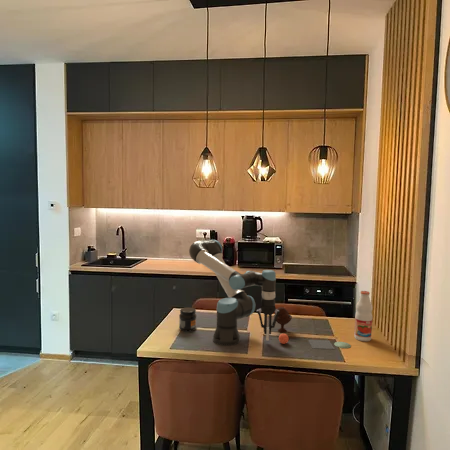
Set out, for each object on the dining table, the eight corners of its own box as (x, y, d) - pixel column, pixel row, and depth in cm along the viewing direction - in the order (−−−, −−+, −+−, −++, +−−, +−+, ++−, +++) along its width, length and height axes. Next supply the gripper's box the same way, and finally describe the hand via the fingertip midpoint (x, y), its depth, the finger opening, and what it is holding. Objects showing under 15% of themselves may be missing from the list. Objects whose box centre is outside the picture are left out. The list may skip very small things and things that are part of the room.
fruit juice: (366, 335, 227) (369, 289, 225) (374, 341, 218) (376, 293, 215) (351, 335, 226) (353, 289, 224) (358, 341, 217) (360, 293, 215)
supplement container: (199, 328, 233) (200, 309, 232) (188, 333, 224) (188, 313, 223) (187, 324, 239) (187, 306, 238) (175, 329, 230) (175, 310, 229)
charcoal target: (312, 348, 205) (312, 348, 205) (308, 340, 217) (308, 339, 217) (334, 349, 205) (334, 348, 205) (329, 340, 217) (329, 340, 217)
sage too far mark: (336, 348, 207) (336, 347, 207) (332, 341, 216) (332, 341, 216) (353, 348, 207) (353, 348, 207) (348, 342, 216) (348, 341, 216)
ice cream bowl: (291, 334, 225) (292, 310, 224) (272, 333, 227) (273, 308, 226) (291, 328, 236) (292, 305, 234) (273, 327, 238) (274, 303, 237)
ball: (279, 345, 209) (279, 335, 208) (277, 341, 214) (278, 332, 214) (289, 345, 209) (289, 335, 208) (287, 341, 214) (287, 332, 214)
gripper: (257, 299, 206) (256, 341, 208) (281, 300, 206) (279, 342, 208) (256, 296, 214) (255, 336, 215) (279, 296, 213) (278, 337, 215)
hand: (267, 339), depth 211 cm, fingers closed
